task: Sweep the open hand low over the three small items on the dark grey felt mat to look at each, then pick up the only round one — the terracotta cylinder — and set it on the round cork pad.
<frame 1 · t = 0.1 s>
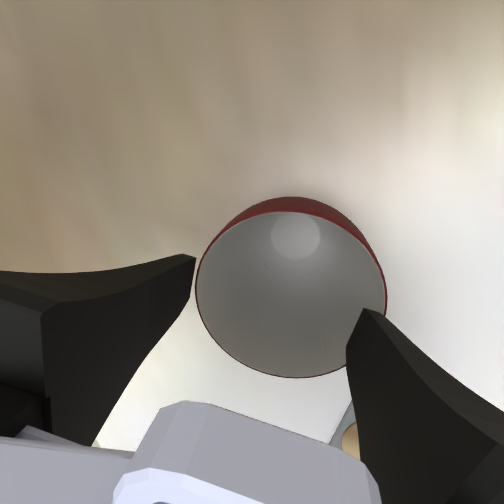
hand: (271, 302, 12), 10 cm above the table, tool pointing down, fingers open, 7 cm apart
felt mat: (443, 482, 27), on the table
mug: (282, 243, 22), on the table
cork pad: (381, 444, 26), resting on felt mat
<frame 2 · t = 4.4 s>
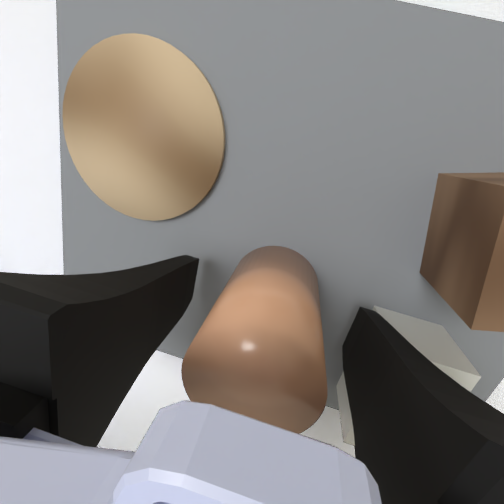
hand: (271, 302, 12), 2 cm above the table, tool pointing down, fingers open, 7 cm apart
felt mat: (289, 234, 13), on the table
walnut cube: (486, 226, 11), resting on felt mat
terracotta cylinder: (274, 286, 13), resting on felt mat
cork pad: (144, 137, 12), resting on felt mat
pale grey plastic box: (385, 358, 13), resting on felt mat, touching gripper
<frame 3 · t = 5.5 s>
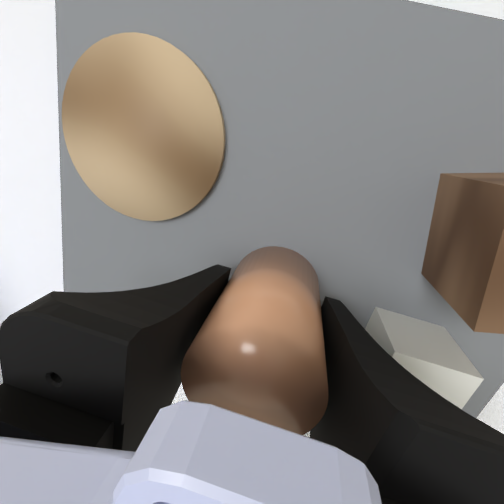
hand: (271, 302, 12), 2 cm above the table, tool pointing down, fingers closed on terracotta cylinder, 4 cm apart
felt mat: (290, 234, 13), on the table
walnut cube: (488, 227, 11), resting on felt mat
terracotta cylinder: (274, 286, 13), resting on felt mat, touching gripper
cork pad: (144, 137, 12), resting on felt mat
pale grey plastic box: (386, 359, 13), resting on felt mat
when the fingers open (3 cm above the table, at t = 8.8 s): terracotta cylinder drops 1 cm, resting on cork pad.
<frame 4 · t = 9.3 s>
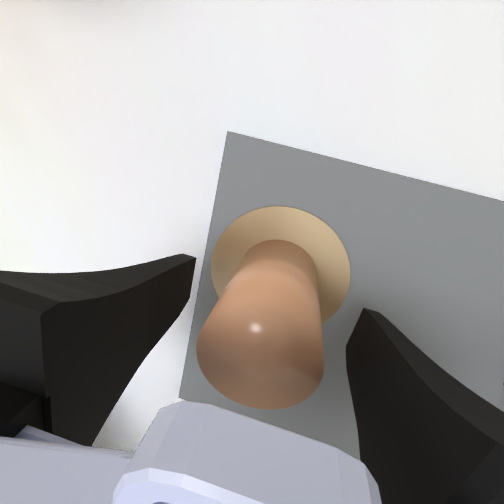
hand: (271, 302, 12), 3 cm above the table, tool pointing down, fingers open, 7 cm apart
felt mat: (391, 346, 15), on the table
terracotta cylinder: (277, 277, 14), point 1 cm above the table, touching cork pad
cork pad: (278, 272, 15), resting on felt mat
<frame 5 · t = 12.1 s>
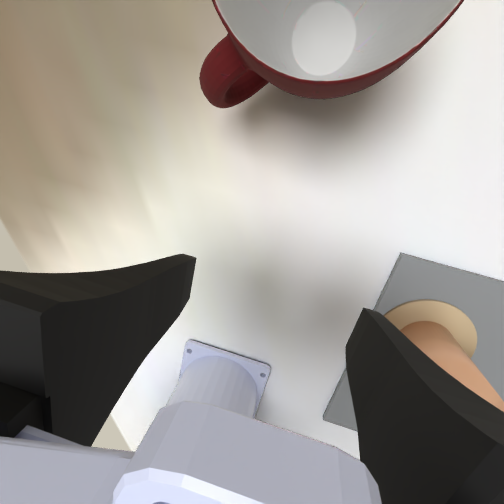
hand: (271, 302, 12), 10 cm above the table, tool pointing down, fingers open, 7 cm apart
felt mat: (494, 388, 22), on the table
mug: (305, 59, 17), on the table
terracotta cylinder: (422, 343, 21), point 1 cm above the table, touching cork pad
cork pad: (421, 339, 21), resting on felt mat
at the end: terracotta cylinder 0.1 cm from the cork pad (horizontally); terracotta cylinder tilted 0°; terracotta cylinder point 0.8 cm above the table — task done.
